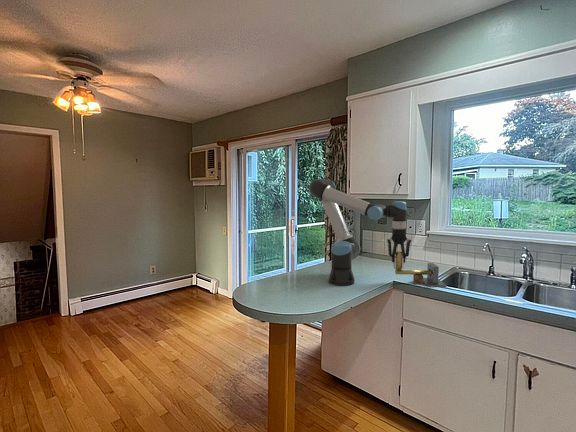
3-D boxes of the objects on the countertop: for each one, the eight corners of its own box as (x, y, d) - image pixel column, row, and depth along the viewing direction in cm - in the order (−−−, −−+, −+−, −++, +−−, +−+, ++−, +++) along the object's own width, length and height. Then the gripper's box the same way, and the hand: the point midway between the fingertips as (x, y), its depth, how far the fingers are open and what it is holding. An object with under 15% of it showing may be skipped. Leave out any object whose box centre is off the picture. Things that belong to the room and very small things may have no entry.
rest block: (415, 283, 181) (416, 275, 180) (413, 281, 186) (413, 273, 185) (423, 283, 180) (423, 276, 180) (420, 281, 185) (420, 273, 185)
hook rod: (396, 275, 182) (396, 252, 181) (394, 273, 186) (395, 251, 184) (431, 275, 180) (432, 252, 179) (429, 273, 184) (430, 251, 182)
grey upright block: (427, 286, 176) (428, 267, 175) (419, 279, 190) (420, 261, 189) (446, 286, 175) (446, 268, 174) (436, 279, 189) (437, 262, 188)
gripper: (385, 229, 178) (385, 269, 181) (416, 229, 177) (414, 270, 179) (383, 227, 186) (382, 266, 188) (412, 227, 184) (411, 266, 187)
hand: (398, 268), depth 184 cm, fingers closed on hook rod, 3 cm apart
